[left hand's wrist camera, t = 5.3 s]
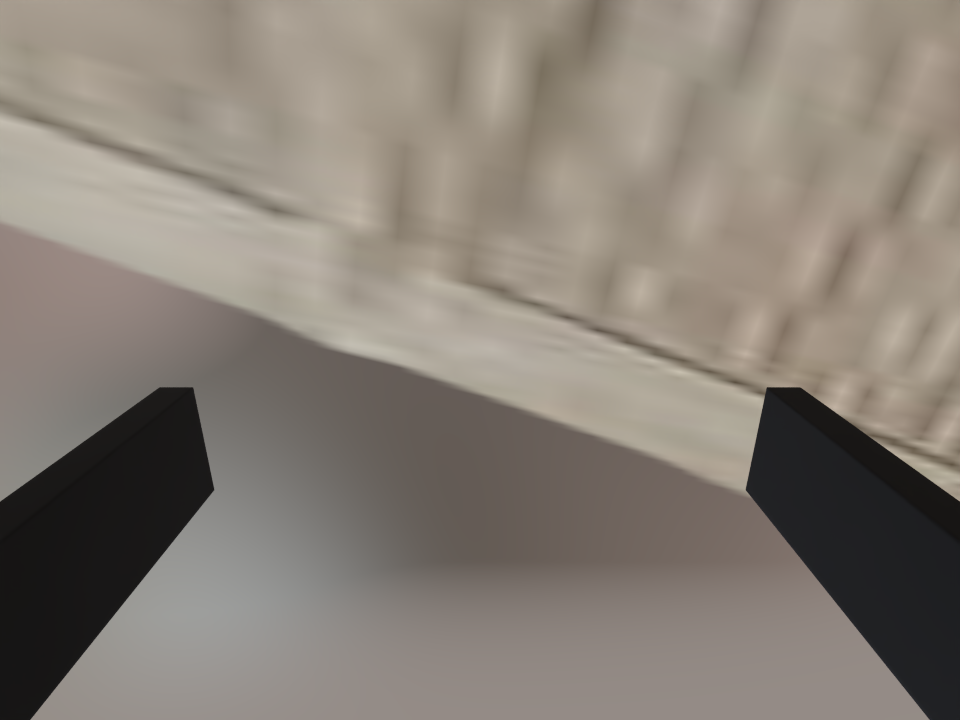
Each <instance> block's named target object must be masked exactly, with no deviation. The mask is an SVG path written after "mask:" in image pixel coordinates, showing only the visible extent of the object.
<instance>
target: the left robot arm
mask: <svg viewBox="0 0 960 720" xmlns="http://www.w3.org/2000/svg"><path fill="white" fill-rule="evenodd" d="M213 491H214V486H213V481H212V477H211V472H210V467H209V462H208V457H207V452H206V447H205V443H204V438H203V433H202V428H201V423H200V419H199V414H198V409H197V404H196V399H195V394H194V389H193V388H192V387H191V388H189V387H180V388H179V387H177V388H176V387H173V388H170V387H169V388H168V387H167V388H166V387H162V388H161V387H160V388H158V389H157V390H155V391H154V392H153V393H151V394H150V395H148V396H147V397H146V398H144V399H143V400H141V401H140V402H139V403H137V404H136V405H134V406H133V407H132V408H130V409H129V410H127V411H126V412H125V413H123V414H122V415H121V416H119V417H118V418H116V419H115V420H114V421H112V422H111V423H109V424H108V425H107V426H105V427H104V428H102V429H101V430H100V431H98V432H97V433H95V434H94V435H93V436H91V437H90V438H88V439H87V440H86V441H84V442H83V443H81V444H80V445H79V446H77V447H76V448H74V449H73V450H72V451H70V452H69V453H67V454H66V455H65V456H63V457H62V458H61V459H59V460H58V461H56V462H55V463H54V464H52V465H51V466H49V467H48V468H47V469H45V470H44V471H42V472H41V473H40V474H38V475H37V476H35V477H34V478H33V479H31V480H30V481H28V482H27V483H26V484H24V485H23V486H21V487H20V488H19V489H17V490H16V491H14V492H13V493H12V494H10V495H9V496H8V497H6V498H5V499H3V500H2V501H1V502H0V720H30V719H31V718H32V717H33V716H34V714H35V713H36V712H37V711H38V709H39V708H40V707H41V706H42V704H43V703H44V702H45V701H46V699H47V698H48V697H49V696H50V694H51V693H52V692H53V691H54V689H55V688H56V687H57V686H58V684H59V683H60V682H61V681H62V679H63V678H64V677H65V676H66V674H67V673H68V672H69V671H70V669H71V668H72V667H73V666H74V664H75V663H76V662H77V661H78V659H79V658H80V657H81V656H82V654H83V653H84V652H85V651H86V650H87V648H88V647H89V646H90V645H91V643H92V642H93V641H94V639H95V638H96V637H97V636H98V635H99V633H100V632H101V631H102V630H103V628H104V627H105V626H106V625H107V623H108V622H109V621H110V620H111V618H112V617H113V616H114V615H115V613H116V612H117V611H118V610H119V608H120V607H121V606H122V605H123V603H124V602H125V601H126V599H127V598H128V597H129V596H130V595H131V593H132V592H133V591H134V589H135V588H136V587H137V586H138V585H139V583H140V582H141V581H142V580H143V578H144V577H145V576H146V575H147V573H148V572H149V571H150V570H151V568H152V567H153V566H154V564H155V563H156V562H157V561H158V559H159V558H160V557H161V556H162V555H163V553H164V552H165V551H166V550H167V548H168V547H169V546H170V545H171V543H172V542H173V541H174V540H175V538H176V537H177V536H178V534H179V533H180V532H181V531H182V530H183V528H184V527H185V526H186V525H187V523H188V522H189V521H190V520H191V518H192V517H193V516H194V515H195V513H196V512H197V511H198V510H199V508H200V507H201V506H202V505H203V503H204V502H205V501H206V500H207V498H208V497H209V496H210V495H211V493H212V492H213ZM746 491H747V492H748V493H749V495H750V496H751V497H752V498H753V500H754V501H755V502H756V503H757V505H758V506H759V507H760V508H761V510H762V511H763V512H764V513H765V515H766V516H767V517H768V518H769V520H770V521H771V522H772V523H773V525H774V526H775V527H776V528H777V530H778V531H779V532H780V533H781V535H782V536H783V537H784V538H785V540H786V541H787V542H788V543H789V544H790V546H791V547H792V548H793V549H794V551H795V552H796V553H797V555H798V556H799V557H800V558H801V559H802V561H803V562H804V563H805V565H806V566H807V567H808V568H809V570H810V571H811V572H812V573H813V575H814V576H815V577H816V578H817V580H818V581H819V582H820V583H821V585H822V586H823V587H824V588H825V590H826V591H827V592H828V593H829V595H830V596H831V597H832V598H833V600H834V601H835V602H836V603H837V605H838V606H839V607H840V608H841V610H842V611H843V612H844V613H845V615H846V616H847V617H848V618H849V620H850V621H851V622H852V623H853V624H854V626H855V627H856V628H857V629H858V631H859V632H860V633H861V635H862V636H863V637H864V638H865V639H866V641H867V642H868V643H869V644H870V646H871V647H872V648H873V649H874V651H875V652H876V653H877V654H878V656H879V657H880V658H881V659H882V661H883V662H884V663H885V664H886V666H887V667H888V668H889V669H890V671H891V672H892V673H893V674H894V676H895V677H896V678H897V679H898V681H899V682H900V683H901V684H902V686H903V687H904V688H905V689H906V691H907V692H908V693H909V694H910V696H911V697H912V698H913V699H914V701H915V702H916V703H917V704H918V706H919V707H920V708H921V709H922V711H923V712H924V713H925V714H926V716H927V717H928V718H929V719H930V720H960V501H958V500H957V499H955V498H954V497H953V496H951V495H950V494H948V493H947V492H946V491H944V490H943V489H941V488H940V487H939V486H937V485H936V484H934V483H933V482H932V481H930V480H929V479H927V478H926V477H925V476H923V475H922V474H920V473H919V472H918V471H916V470H915V469H913V468H912V467H911V466H909V465H908V464H906V463H905V462H904V461H902V460H901V459H899V458H898V457H897V456H895V455H894V454H893V453H891V452H890V451H888V450H887V449H886V448H884V447H883V446H881V445H880V444H879V443H877V442H876V441H874V440H873V439H872V438H870V437H869V436H867V435H866V434H865V433H863V432H862V431H860V430H859V429H858V428H856V427H855V426H853V425H852V424H851V423H849V422H848V421H846V420H845V419H844V418H842V417H841V416H839V415H838V414H837V413H835V412H834V411H833V410H831V409H830V408H828V407H827V406H826V405H824V404H823V403H821V402H820V401H819V400H817V399H816V398H814V397H813V396H812V395H810V394H809V393H807V392H806V391H805V390H803V389H802V388H800V387H767V389H766V394H765V399H764V404H763V409H762V414H761V418H760V423H759V428H758V433H757V438H756V443H755V447H754V452H753V457H752V462H751V467H750V472H749V476H748V481H747V486H746Z"/></svg>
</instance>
